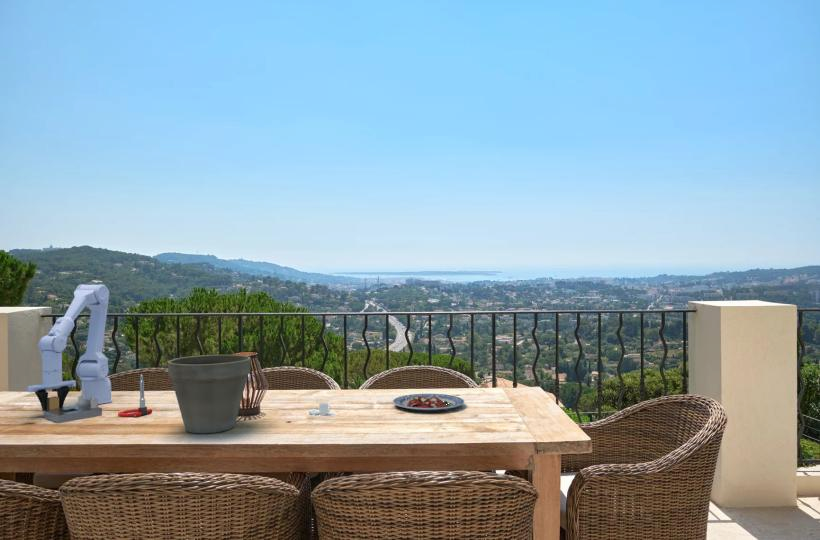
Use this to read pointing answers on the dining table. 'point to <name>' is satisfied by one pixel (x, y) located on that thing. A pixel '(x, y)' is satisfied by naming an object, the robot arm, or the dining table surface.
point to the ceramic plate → (428, 402)
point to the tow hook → (142, 409)
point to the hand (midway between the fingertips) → (52, 410)
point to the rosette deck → (75, 410)
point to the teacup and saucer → (321, 410)
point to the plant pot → (209, 390)
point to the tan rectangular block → (52, 402)
